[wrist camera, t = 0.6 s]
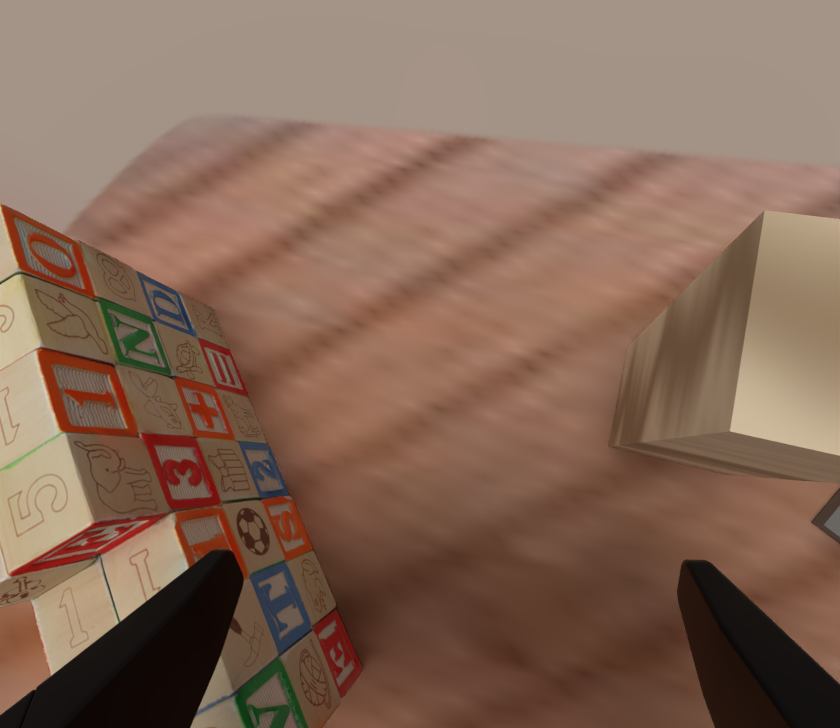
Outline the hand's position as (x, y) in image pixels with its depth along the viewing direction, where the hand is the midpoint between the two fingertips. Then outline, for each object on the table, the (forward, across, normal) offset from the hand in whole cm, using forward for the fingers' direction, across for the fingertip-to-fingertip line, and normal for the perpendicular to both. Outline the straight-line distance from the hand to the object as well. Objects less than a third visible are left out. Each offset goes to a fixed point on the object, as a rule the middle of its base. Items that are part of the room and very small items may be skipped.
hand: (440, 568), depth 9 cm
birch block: (+14, -9, +5) cm, 17 cm away
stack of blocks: (+11, +13, +9) cm, 20 cm away
